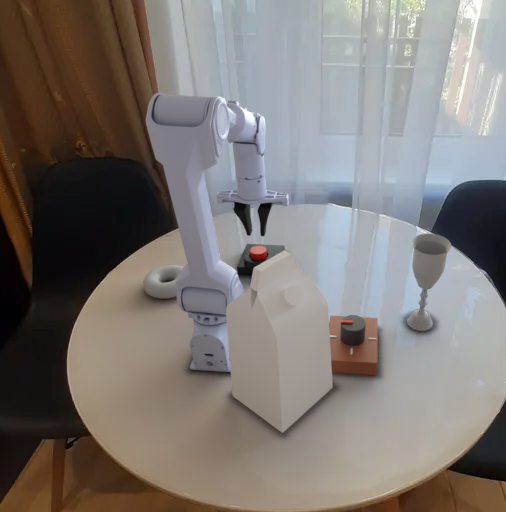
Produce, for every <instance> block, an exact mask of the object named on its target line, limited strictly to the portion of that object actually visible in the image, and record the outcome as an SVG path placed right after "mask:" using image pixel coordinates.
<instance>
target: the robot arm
mask: <svg viewBox="0 0 506 512" xmlns="http://www.w3.org/2000/svg"><path fill="white" fill-rule="evenodd" d="M145 125H146V129H147V132H148V136H149V141H150V144H151V148H152V150H153V154H154V158H155V160H156V161H157V162H158V163H159V164H161V165H162V167H163V172H164V176H165V180H166V184H167V187H168V191H169V195H170V199H171V203H172V207H173V211H174V216H175V219H176V222H177V223H176V224H177V227H178V231H179V234H180V239H181V243H182V246H183V250H184V254H185V258H186V262H187V264H186V265H184V266H182V267H183V268H182V270H181V271H180V273H179V274H178V277H177V280H176V286H177V296H176V303H177V305H178V307H179V309H180V311H182V312H185V313H187V317H188V319H189V318H190V319H192V321H193V333H192V335H191V338H190V341H189V346H190V347H189V348H190V352H191V355H192V361H191V363H190V365H189V369H190V370H192V371H210V372H223V373H231V371H230V358H229V345H228V332H227V320H226V308H227V306H228V304H229V303H230V302H231V301H233V300H234V299H236V298H237V297H238V296H240V295H241V294H243V293H244V292H245V289H244V286H243V284H242V282H241V280H240V278H239V275H238V271H237V269H235V268H233V267H232V266H230V265H229V264H228V263H226V262H224V260H222V259H221V254H220V249H219V245H218V244H219V243H218V239H217V234H216V228H215V224H214V218H213V214H212V208H211V203H210V198H209V193H208V187H207V182H206V177H205V172H206V170H209V169H210V168H212V167H214V166H216V165H218V164H219V160H220V157H221V155H222V153H223V150H224V147H225V143H226V141H227V142H228V143H229V144H231V143H232V151H233V159H234V166H235V178H236V185H237V189H234V190H232V189H231V190H219V191H218V192H217V194H216V199H217V201H216V202H217V204H221V205H222V204H224V203H229V204H230V203H232V204H234V205H233V208H232V209H233V213H234V214H235V215H236V217H238V219H239V221H240V222H241V224H242V226H243V228H244V230H245V233H246V236H249V237H250V236H251V235H252V233H253V224H252V217H251V205H259V206H258V207H257V211H256V212H257V216H258V219H259V233H260V237H265V236H266V232H267V225H268V224H267V223H268V220H269V215H270V212H271V210H272V207H273V205H276V206H277V205H279V206H282V207H289V204H290V196H289V195H290V194H289V193H284V192H283V193H282V192H277V191H273V190H267V181H266V180H267V179H266V168H265V166H266V165H265V156H264V155H265V153H264V152H265V151H266V134H267V131H266V129H267V124H266V119H265V117H264V115H261V114H260V113H259V112H253V111H252V112H251V111H248V109H247V107H246V106H240V103H239V101H237V100H227V101H226V99H225V97H222V96H221V95H220V96H219V95H214V96H203V95H202V96H201V95H184V94H183V95H182V94H181V95H180V94H165V93H163V92H156V93H154V94H153V95H152V96H151V98H150V100H149V102H148V105H147V111H146V115H145Z"/></svg>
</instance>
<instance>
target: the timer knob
mask: <svg viewBox="0 0 506 512" xmlns="http://www.w3.org/2000/svg"><path fill="white" fill-rule="evenodd" d="M365 326H366V322H365V320H364V319H363V318H362V316H359V315H356V314H349V315H346V317H344V318H343V319H342V320H341V330H340V338H341V341H342V342H343V343H344V344H346V345H349V346H357V345H360V344H361V343H363V342H364V340H365Z"/></svg>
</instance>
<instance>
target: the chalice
mask: <svg viewBox="0 0 506 512" xmlns="http://www.w3.org/2000/svg"><path fill="white" fill-rule="evenodd" d="M411 242H412V243H411V244H412V247H413V254H412V255H413V256H412V261H411V267H412V272H413V276H414V278H415V281H416V283H417V285H418V287H419V288H420V289H422V290H421V292H420V293H419V296H420V300H418V302H417V303H418V305H419V308H416V309H415V310H413V311H412V312H411V313H410V315H409V316H408V317H407V320H406V321H407V322H406V324H407V326H408V327H410V328H411V329H412V330H415V331H419V332H424V331H429V330H430V329H432V328H433V325H434V324H433V320H432V317H431V314H430V312H429V311H428V310H426V309H425V308H426V306H427V305H428V301H427V298H428V297H429V294H428V290H431V289H432V288H433V287H434V286H435V285H436V283H437V282H438V281H439V280H440V279H441V277H442V275H443V273H444V271H445V268H446V262H447V257H448V253H449V252H450V250H451V249H452V244H451V241H450V240H449V239H448V238H447V237H445V236H442V235H440V234H437V233H422V234H418V235H416V236H415V237H414V238H413V239H412V241H411Z"/></svg>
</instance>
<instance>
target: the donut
mask: <svg viewBox="0 0 506 512" xmlns="http://www.w3.org/2000/svg"><path fill="white" fill-rule="evenodd" d="M183 267H184V266H181V265H176V264H167V265H161V266H158V267H155V268H154V269H152V270H150V271H149V272H148V273H147V274H146V275H145V277H144V278H143V280H142V285H143V290H144V291H145V293H146V294H147V295H148V296H150V297H152V298H155V299H159V300H165V299H167V300H168V299H172V298H177V286H176V280H177V277H178V274H179V273H180V271H181V270H182V268H183Z"/></svg>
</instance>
